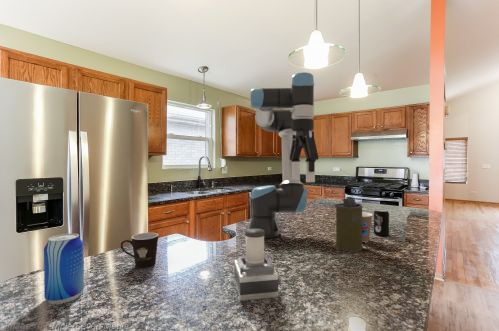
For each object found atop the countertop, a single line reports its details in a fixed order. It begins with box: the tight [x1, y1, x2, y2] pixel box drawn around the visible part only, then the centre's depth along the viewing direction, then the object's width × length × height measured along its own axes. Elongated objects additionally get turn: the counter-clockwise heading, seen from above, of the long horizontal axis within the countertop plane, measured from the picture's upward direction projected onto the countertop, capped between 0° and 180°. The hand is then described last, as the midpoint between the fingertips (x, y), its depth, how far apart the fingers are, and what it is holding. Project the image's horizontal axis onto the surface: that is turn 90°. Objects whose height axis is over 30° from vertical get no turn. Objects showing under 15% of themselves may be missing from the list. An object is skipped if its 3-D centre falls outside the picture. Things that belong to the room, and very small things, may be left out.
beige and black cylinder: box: [244, 228, 265, 267], centre depth 75 cm, size 5×5×10 cm
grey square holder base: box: [233, 254, 279, 301], centre depth 75 cm, size 12×10×7 cm
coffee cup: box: [362, 211, 374, 243], centre depth 119 cm, size 10×10×12 cm
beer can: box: [43, 233, 85, 305], centre depth 70 cm, size 8×8×16 cm
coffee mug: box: [120, 232, 159, 270], centre depth 92 cm, size 12×9×10 cm
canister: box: [335, 197, 364, 253], centre depth 109 cm, size 11×10×20 cm
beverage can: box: [373, 208, 390, 237], centre depth 128 cm, size 7×7×12 cm
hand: (302, 180), depth 93 cm, fingers open, 13 cm apart
